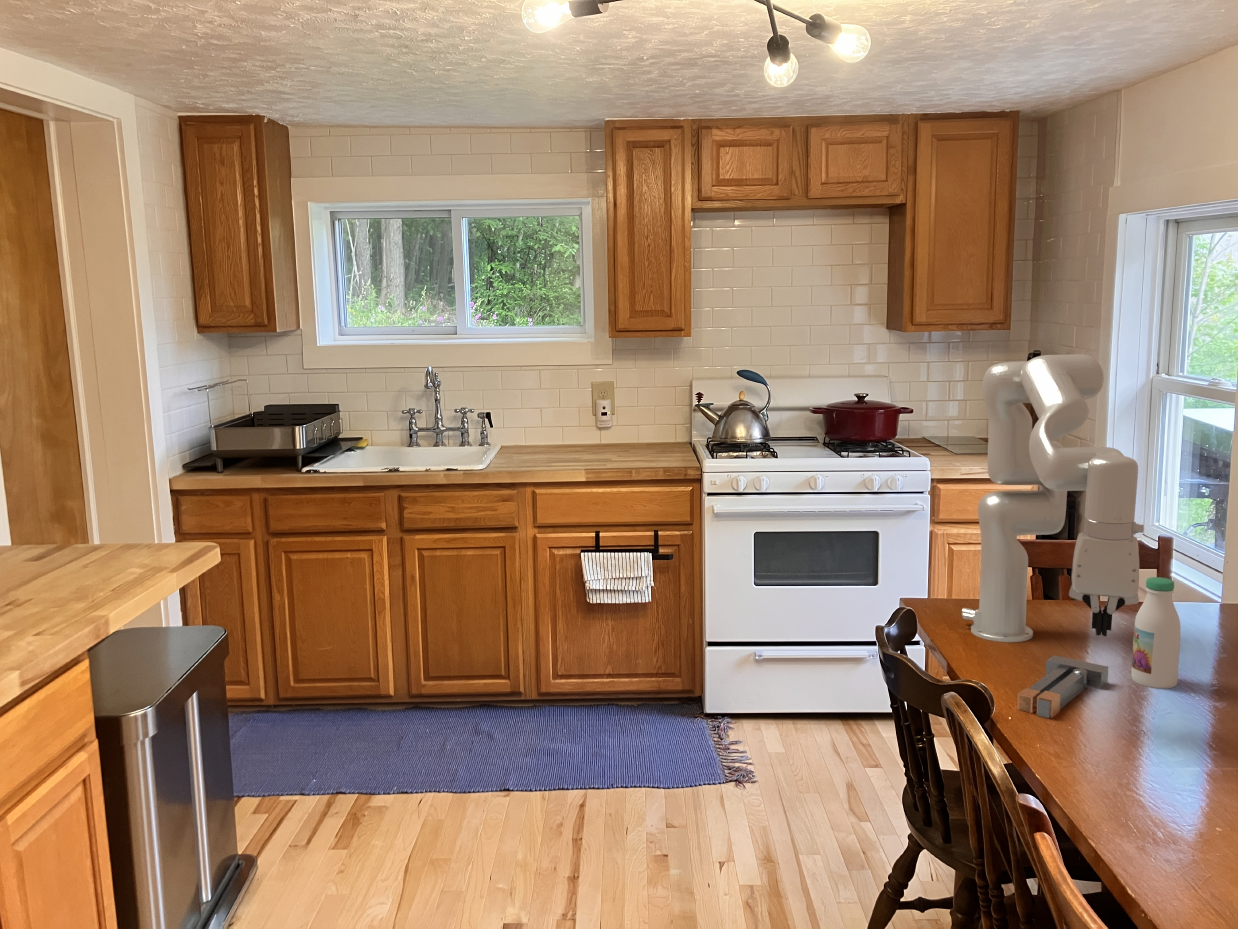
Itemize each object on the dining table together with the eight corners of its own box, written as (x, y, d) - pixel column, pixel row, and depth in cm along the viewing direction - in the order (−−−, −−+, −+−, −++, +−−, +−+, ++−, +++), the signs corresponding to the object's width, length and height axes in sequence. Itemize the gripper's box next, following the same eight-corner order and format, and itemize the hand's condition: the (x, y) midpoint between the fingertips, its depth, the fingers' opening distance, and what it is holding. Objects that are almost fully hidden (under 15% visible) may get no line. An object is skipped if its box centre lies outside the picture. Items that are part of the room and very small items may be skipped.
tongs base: (1006, 708, 179) (1006, 689, 178) (1052, 672, 195) (1053, 655, 195) (1064, 722, 172) (1065, 703, 171) (1107, 684, 189) (1108, 666, 188)
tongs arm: (1074, 683, 188) (1075, 667, 188) (1089, 687, 187) (1089, 670, 186) (1035, 715, 175) (1036, 697, 174) (1050, 719, 173) (1051, 701, 172)
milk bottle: (1172, 677, 191) (1179, 575, 188) (1180, 692, 184) (1188, 586, 181) (1128, 673, 194) (1134, 573, 191) (1134, 687, 187) (1140, 583, 184)
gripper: (1156, 527, 168) (1147, 631, 172) (1059, 520, 174) (1053, 621, 178) (1161, 538, 162) (1152, 646, 165) (1060, 531, 167) (1053, 635, 171)
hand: (1100, 633), depth 171 cm, fingers closed
